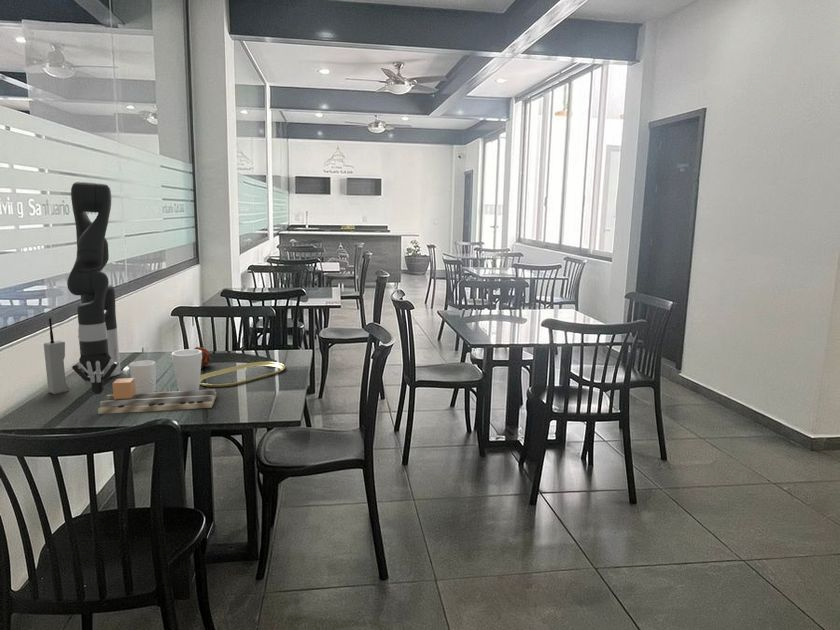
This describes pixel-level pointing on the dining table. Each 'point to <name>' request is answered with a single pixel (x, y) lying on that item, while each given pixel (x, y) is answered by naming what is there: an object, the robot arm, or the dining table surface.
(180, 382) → the foam cup
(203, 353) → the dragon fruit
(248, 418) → the dining table surface
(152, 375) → the white cup
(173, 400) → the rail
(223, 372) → the gold oval ring
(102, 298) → the robot arm
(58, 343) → the vintage mobile phone
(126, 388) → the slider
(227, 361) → the dining table surface
